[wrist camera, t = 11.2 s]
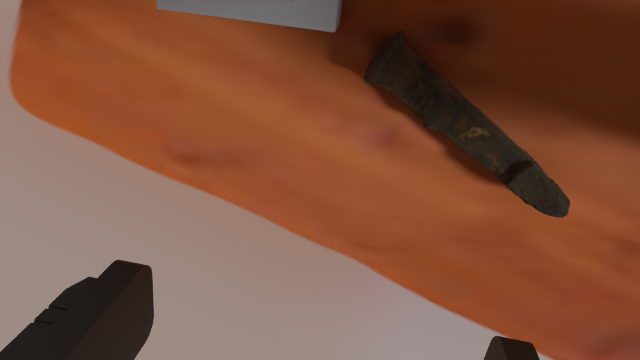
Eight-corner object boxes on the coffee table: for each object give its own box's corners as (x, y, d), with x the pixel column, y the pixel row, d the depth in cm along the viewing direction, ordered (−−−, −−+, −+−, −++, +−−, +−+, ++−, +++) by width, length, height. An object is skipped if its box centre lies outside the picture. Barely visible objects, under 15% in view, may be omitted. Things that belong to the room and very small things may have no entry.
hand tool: (361, 67, 34) (358, 81, 30) (398, 25, 33) (400, 34, 28) (526, 217, 38) (544, 248, 34) (567, 187, 36) (591, 215, 32)
